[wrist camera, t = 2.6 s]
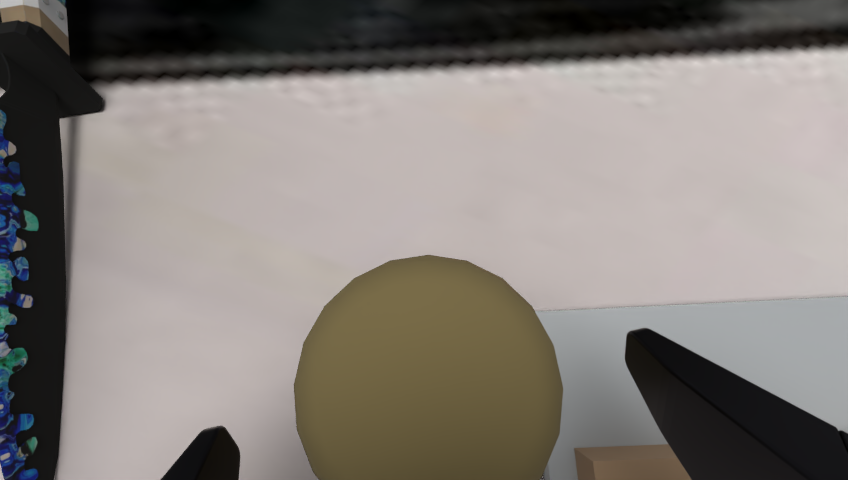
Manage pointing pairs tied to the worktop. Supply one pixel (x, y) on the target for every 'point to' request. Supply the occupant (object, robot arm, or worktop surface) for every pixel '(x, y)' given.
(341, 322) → the olive pepper mill
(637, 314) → the ridge board
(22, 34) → the knife
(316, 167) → the worktop surface
